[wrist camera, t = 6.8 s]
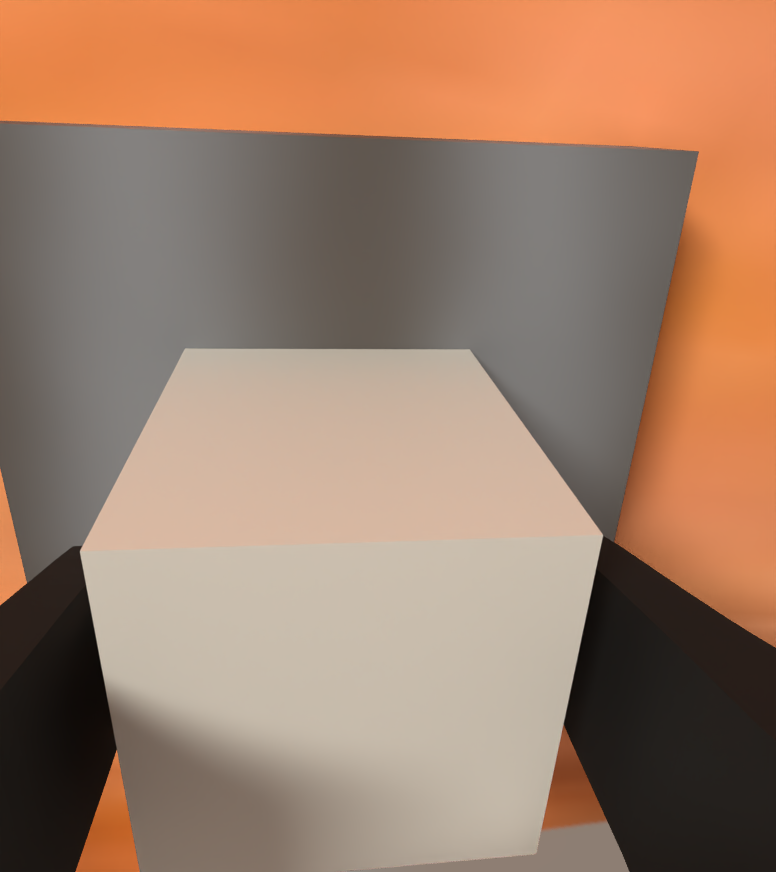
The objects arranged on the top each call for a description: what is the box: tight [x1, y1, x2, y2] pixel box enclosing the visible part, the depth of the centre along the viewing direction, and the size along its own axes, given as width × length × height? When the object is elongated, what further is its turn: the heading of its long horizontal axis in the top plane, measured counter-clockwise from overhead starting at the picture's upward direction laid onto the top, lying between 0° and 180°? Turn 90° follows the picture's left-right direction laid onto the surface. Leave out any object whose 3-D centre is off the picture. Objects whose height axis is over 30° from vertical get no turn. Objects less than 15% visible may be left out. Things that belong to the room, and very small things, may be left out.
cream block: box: [80, 348, 603, 872], centre depth 10 cm, size 5×5×6 cm
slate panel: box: [0, 121, 699, 583], centre depth 14 cm, size 12×12×3 cm
